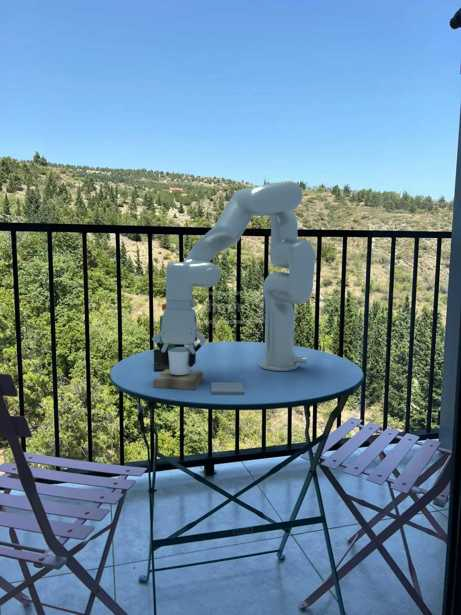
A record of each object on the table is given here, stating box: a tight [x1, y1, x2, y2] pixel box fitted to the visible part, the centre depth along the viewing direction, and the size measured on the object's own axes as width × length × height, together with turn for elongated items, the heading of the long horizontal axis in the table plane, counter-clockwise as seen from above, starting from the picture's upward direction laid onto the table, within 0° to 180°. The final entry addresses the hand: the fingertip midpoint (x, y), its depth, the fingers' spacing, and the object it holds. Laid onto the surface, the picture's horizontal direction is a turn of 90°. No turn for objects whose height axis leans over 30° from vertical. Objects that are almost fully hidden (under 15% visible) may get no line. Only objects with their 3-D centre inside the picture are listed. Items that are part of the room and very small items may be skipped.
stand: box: [152, 369, 204, 391], centre depth 151 cm, size 12×12×2 cm
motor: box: [158, 303, 186, 349], centre depth 176 cm, size 10×9×20 cm
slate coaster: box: [210, 381, 245, 395], centre depth 145 cm, size 9×9×1 cm
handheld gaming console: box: [153, 348, 170, 373], centre depth 169 cm, size 12×7×10 cm
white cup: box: [168, 346, 191, 375], centre depth 151 cm, size 7×7×7 cm
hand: (179, 365), depth 151 cm, fingers closed on white cup, 6 cm apart
